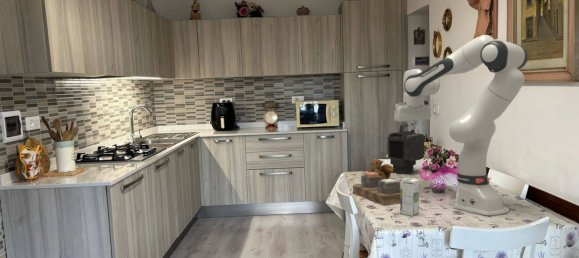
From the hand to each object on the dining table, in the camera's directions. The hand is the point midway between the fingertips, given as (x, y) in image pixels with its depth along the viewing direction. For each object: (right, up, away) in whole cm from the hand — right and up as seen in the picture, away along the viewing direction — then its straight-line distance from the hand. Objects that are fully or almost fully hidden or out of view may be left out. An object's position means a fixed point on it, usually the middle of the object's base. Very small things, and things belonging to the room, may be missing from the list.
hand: (412, 129), depth 218 cm
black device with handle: (+9, -26, +48) cm, 55 cm away
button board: (-18, -32, -8) cm, 38 cm away
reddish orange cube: (-21, -26, -2) cm, 34 cm away
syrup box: (-11, -35, -36) cm, 51 cm away
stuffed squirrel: (-11, -29, +25) cm, 40 cm away
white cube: (-15, -28, -15) cm, 35 cm away
